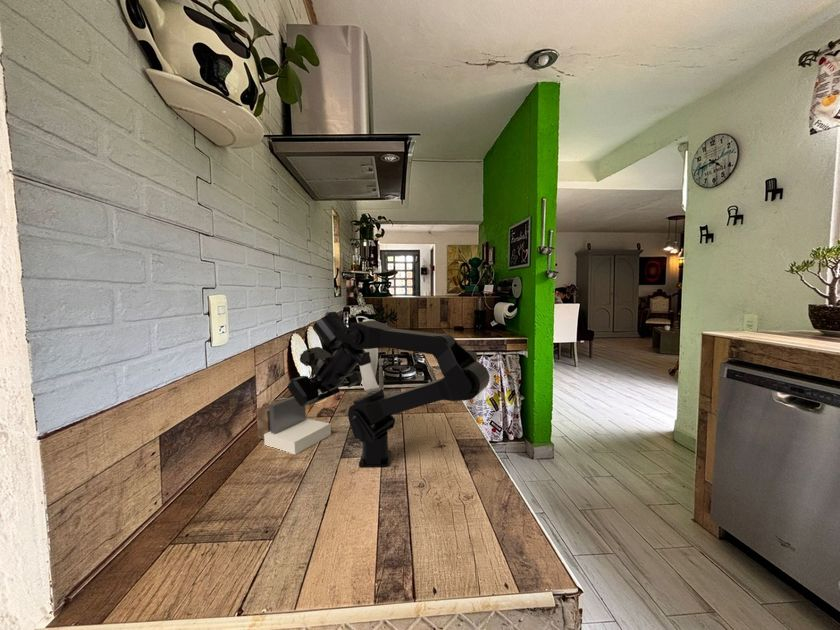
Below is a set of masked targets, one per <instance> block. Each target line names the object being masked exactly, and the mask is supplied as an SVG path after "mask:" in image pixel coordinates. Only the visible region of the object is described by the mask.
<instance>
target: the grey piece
mask: <svg viewBox="0 0 840 630" xmlns="http://www.w3.org/2000/svg"><path fill="white" fill-rule="evenodd" d="M281 400H282V401H280V400H278V401H279V402H277V401H275V402H276V403H274V402H272V403H273V404H271V403H270V404H271V405H269V404H268V405H269V411H270V428H271V433H274V434H276V433H278V432H280V431H282V430H284V429H286V428H289V427H291V426H293V425H295V424H297V423H300V422H302V421H304V420H306V419H307V417H306V416H307V415H306V414H307V413H306V412H307V411H306V406H304V407H303V406H300V405H299V404H298V402H297V401H296V399H295V398H294V396H293V395H292V396H290V397H288V398H285V399H284V398H283V399H281Z"/></svg>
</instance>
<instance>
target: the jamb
mask: <svg viewBox="0 0 840 630" xmlns="http://www.w3.org/2000/svg"><path fill="white" fill-rule="evenodd" d="M282 400H283V399H280V400H276V401H274V402H272V403H268V404H266V405H263V406H261V407H258V408H256V421H257V438H258V437H259V438H262V439H264V434H266V433H268V432H270V431H271V428H270V411H269V405H271V404H273V403H276V402H279V401H282Z"/></svg>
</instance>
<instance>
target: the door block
mask: <svg viewBox="0 0 840 630" xmlns="http://www.w3.org/2000/svg"><path fill="white" fill-rule="evenodd" d="M331 427H332V425H331V423H328V422H324V421H320V420H315V419H311V418H306V420H304V421H302V422H300V423H297V424H295V425H293V426H291V427H289V428H286V429H284V430H282V431H280V432H278V433H276V434H274V433H271V431H270V432H268V433H266V434H264V440H263V442H264V446H265V445H267V446H270V447H274V448H277V449H280V450H279V451H281V450H283V451H282V452H284V451H286V452H285V453H288V452H289V453H288V454H292V455H294V456H295V455H297V454H299V453H300V452H301V453H302V452H303V451H304V450H306V449H308V448H309V447H312V446H313V445H315V444H316V443H319V442H320V441H322V440H325V438H328V437H330V436H331V435H332V431H331V430H332V428H331ZM267 446H266V447H267ZM270 447H269V448H270ZM274 448H273V449H274ZM277 449H276V450H277Z"/></svg>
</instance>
